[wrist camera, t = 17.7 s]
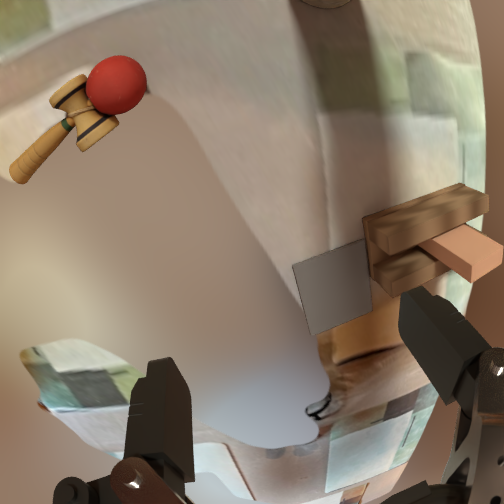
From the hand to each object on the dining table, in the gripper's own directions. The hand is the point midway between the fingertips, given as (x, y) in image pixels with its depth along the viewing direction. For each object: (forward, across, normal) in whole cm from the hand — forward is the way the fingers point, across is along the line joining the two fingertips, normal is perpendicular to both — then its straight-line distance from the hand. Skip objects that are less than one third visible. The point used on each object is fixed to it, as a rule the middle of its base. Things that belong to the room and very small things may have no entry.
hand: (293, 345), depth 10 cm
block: (+26, -25, +14) cm, 39 cm away
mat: (+26, -10, +19) cm, 34 cm away
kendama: (+27, +14, -10) cm, 32 cm away
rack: (+27, -24, +14) cm, 39 cm away
